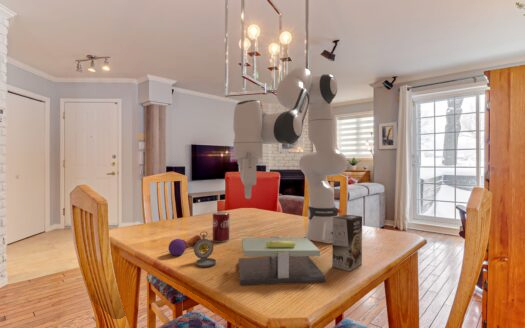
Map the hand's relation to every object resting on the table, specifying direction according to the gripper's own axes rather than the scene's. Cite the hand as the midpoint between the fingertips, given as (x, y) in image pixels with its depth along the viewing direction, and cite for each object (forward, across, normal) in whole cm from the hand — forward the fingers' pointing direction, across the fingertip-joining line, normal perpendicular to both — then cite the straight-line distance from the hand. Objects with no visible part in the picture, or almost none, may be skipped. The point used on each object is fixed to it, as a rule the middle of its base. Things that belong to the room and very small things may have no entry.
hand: (247, 198), depth 87 cm
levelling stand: (+23, 0, -9) cm, 25 cm away
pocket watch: (+23, +10, +14) cm, 29 cm away
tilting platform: (+16, 0, -9) cm, 18 cm away
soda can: (+23, +38, +10) cm, 45 cm away
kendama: (+23, +26, +23) cm, 42 cm away
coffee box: (+23, +3, -33) cm, 40 cm away
